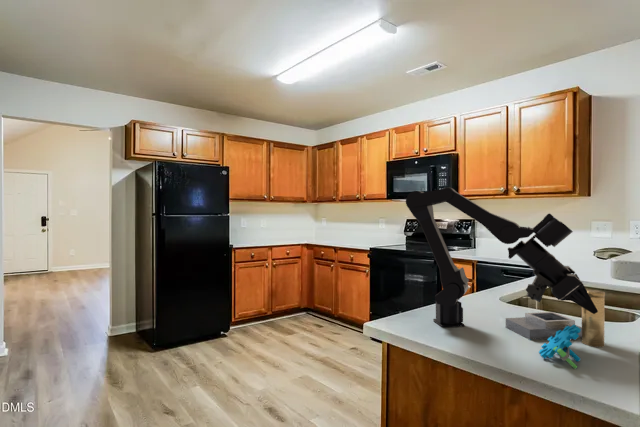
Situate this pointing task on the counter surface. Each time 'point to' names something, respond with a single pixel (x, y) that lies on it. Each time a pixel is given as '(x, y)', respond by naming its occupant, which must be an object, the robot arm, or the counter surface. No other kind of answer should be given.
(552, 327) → the jig
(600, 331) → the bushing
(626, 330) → the counter surface
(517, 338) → the counter surface
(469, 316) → the counter surface
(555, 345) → the blue green toy
